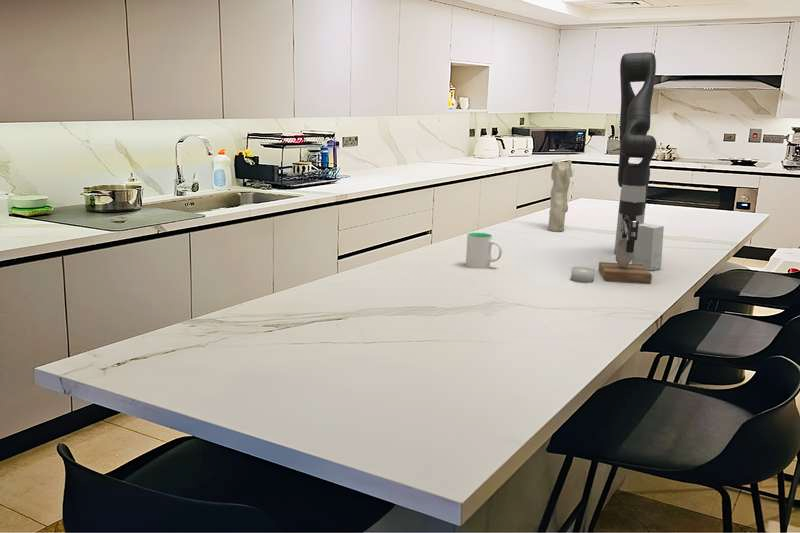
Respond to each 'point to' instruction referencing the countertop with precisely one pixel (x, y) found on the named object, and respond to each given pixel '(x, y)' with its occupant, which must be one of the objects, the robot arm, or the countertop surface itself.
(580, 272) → the pale grey round piece
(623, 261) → the grey rock
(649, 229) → the skincare box
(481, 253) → the mug
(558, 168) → the beige tall lumpy column
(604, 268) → the walnut block
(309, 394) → the countertop surface
